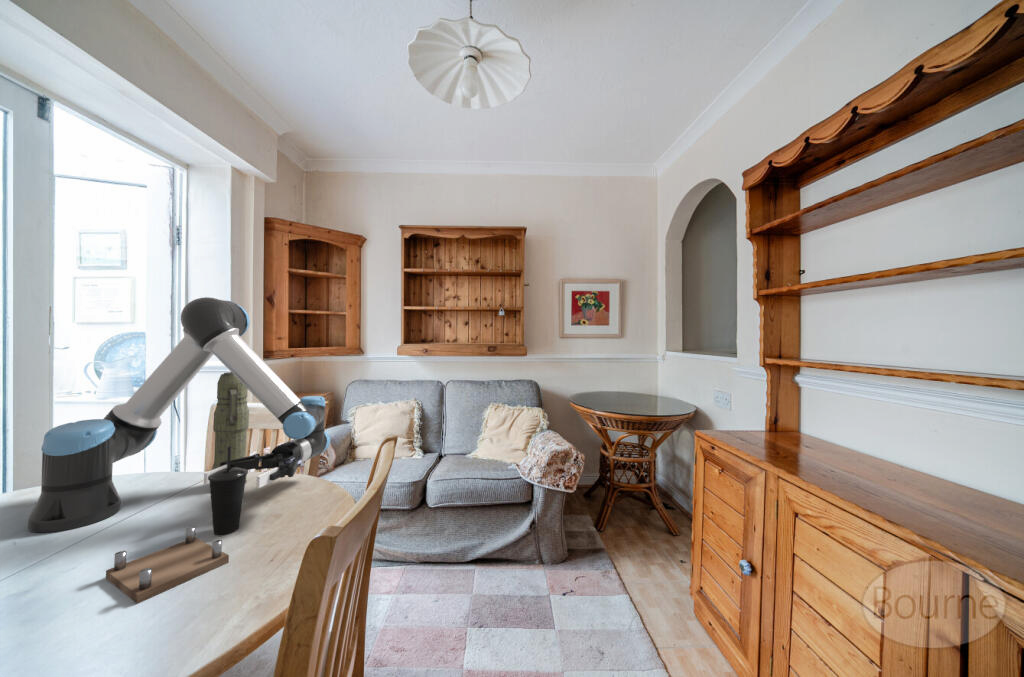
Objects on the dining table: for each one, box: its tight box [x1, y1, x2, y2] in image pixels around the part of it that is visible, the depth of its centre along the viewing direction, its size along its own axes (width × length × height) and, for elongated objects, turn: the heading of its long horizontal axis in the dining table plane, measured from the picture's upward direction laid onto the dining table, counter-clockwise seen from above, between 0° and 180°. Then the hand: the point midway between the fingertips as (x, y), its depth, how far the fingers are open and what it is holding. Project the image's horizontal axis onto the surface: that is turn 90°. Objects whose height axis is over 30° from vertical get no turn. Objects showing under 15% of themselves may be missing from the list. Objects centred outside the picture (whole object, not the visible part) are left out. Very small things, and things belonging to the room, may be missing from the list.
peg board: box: [105, 525, 230, 605], centre depth 74 cm, size 14×14×4 cm
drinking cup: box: [208, 447, 249, 537], centre depth 90 cm, size 8×8×20 cm
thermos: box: [211, 371, 250, 484], centre depth 117 cm, size 9×12×35 cm
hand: (231, 480), depth 90 cm, fingers open, 13 cm apart
